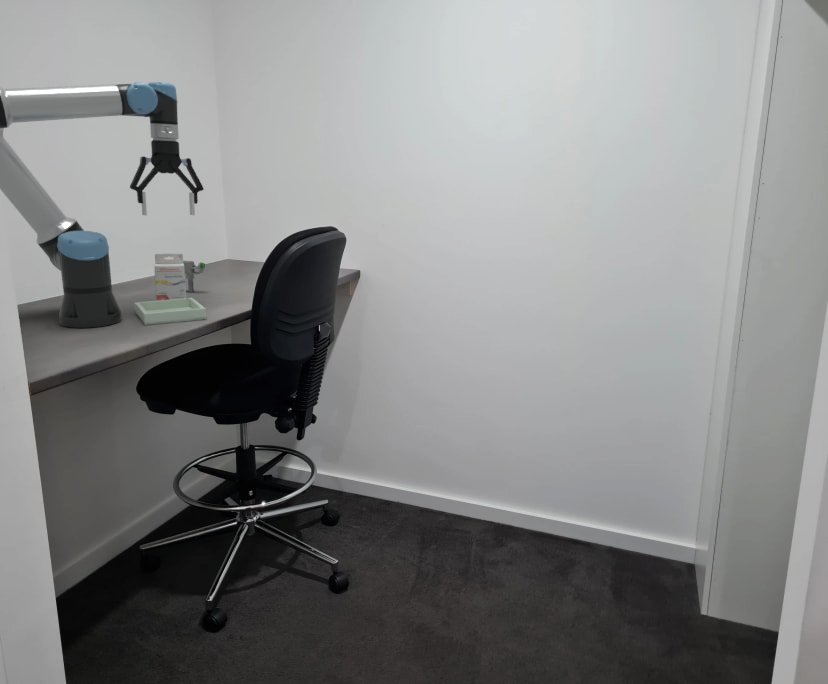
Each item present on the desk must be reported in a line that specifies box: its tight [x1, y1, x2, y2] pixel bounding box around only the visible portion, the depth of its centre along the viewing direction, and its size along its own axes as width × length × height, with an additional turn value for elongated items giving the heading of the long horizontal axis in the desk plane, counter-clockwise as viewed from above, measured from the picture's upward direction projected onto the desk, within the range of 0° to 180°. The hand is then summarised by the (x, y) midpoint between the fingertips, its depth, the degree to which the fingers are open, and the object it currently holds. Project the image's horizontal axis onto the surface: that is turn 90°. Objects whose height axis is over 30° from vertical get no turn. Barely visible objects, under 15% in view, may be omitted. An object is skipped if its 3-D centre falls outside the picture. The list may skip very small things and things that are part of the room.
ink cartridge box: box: [154, 253, 187, 301], centre depth 203 cm, size 9×5×15 cm, turn 108°
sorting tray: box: [134, 297, 207, 326], centre depth 187 cm, size 16×16×3 cm
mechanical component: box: [183, 260, 206, 293], centre depth 219 cm, size 3×10×10 cm, turn 78°
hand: (168, 215), depth 198 cm, fingers open, 13 cm apart
